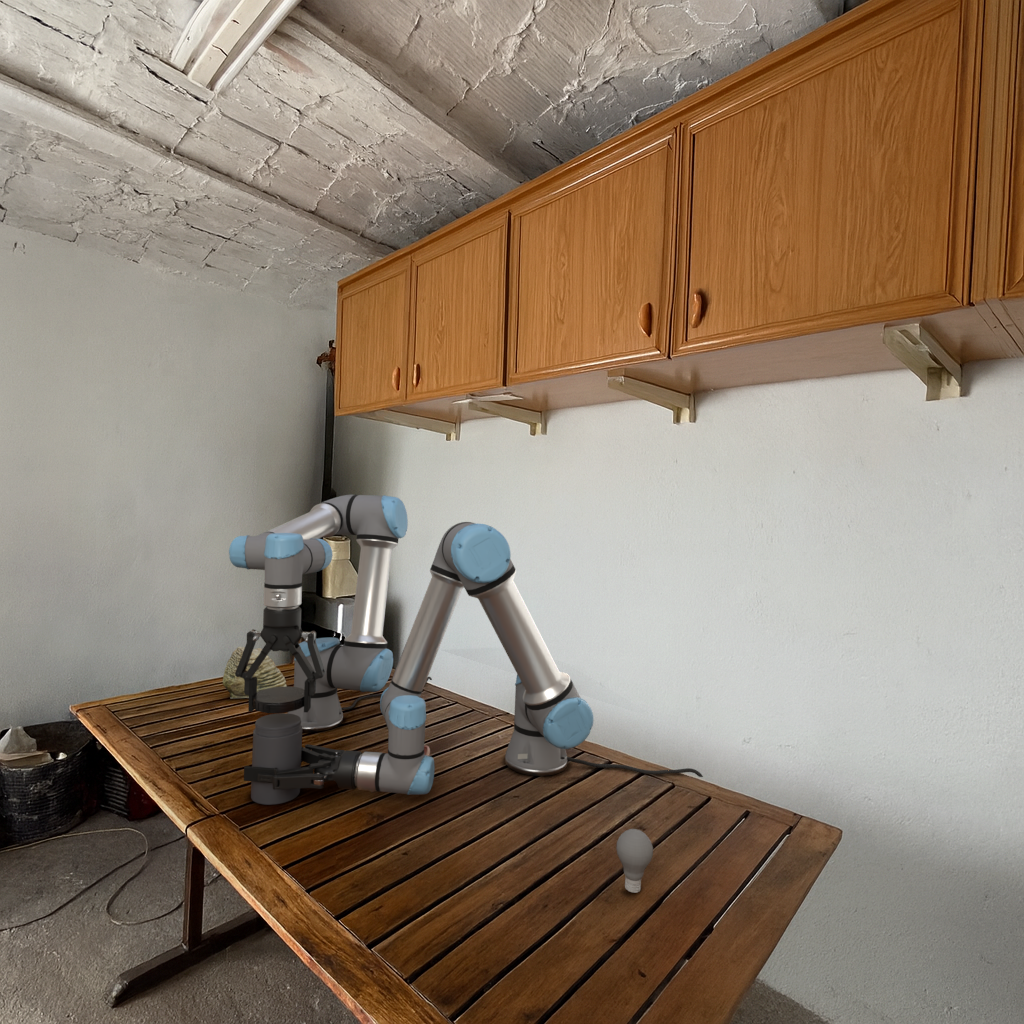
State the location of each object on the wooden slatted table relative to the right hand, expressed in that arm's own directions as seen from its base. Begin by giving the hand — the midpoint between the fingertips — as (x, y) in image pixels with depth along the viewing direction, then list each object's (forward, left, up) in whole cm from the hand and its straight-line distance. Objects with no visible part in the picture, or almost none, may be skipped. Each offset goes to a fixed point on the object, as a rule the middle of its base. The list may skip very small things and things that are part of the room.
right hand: (257, 762), depth 134 cm
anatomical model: (-32, -4, -6) cm, 32 cm away
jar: (-4, +2, -6) cm, 8 cm away
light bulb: (-59, +54, -6) cm, 80 cm away
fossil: (+2, -69, -6) cm, 69 cm away
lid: (-4, +2, +15) cm, 15 cm away
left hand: (-4, +1, +12) cm, 12 cm away
